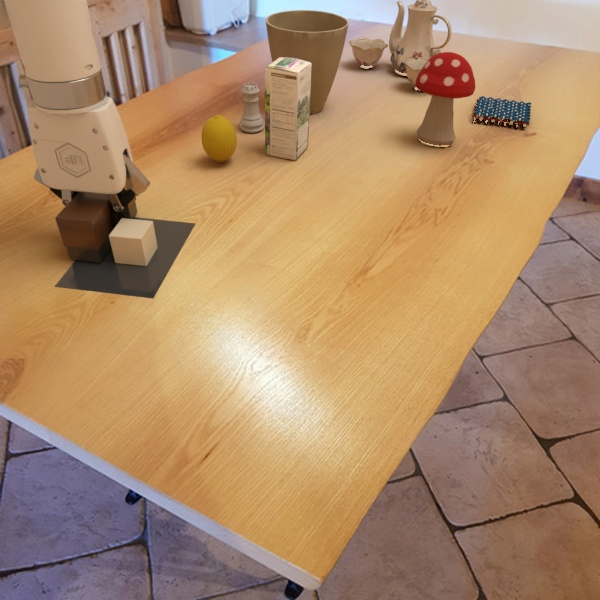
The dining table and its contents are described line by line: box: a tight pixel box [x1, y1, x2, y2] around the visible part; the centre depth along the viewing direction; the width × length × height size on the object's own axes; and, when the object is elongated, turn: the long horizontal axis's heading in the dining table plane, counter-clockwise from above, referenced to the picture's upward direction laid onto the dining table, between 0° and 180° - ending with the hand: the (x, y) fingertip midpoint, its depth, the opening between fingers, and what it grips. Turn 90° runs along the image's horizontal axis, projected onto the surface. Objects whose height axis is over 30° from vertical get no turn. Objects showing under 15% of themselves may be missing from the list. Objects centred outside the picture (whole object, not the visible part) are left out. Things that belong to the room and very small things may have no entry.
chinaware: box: [348, 0, 453, 87], centre depth 119 cm, size 28×17×17 cm, turn 42°
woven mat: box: [471, 95, 532, 127], centre depth 106 cm, size 10×11×2 cm
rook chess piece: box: [239, 81, 265, 134], centre depth 98 cm, size 4×4×8 cm
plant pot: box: [265, 9, 350, 115], centre depth 103 cm, size 15×15×16 cm
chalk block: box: [109, 218, 158, 266], centre depth 67 cm, size 4×4×4 cm
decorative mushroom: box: [415, 51, 476, 146], centre depth 93 cm, size 10×9×15 cm
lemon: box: [201, 113, 238, 164], centre depth 87 cm, size 6×6×8 cm
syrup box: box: [264, 57, 312, 161], centre depth 89 cm, size 6×6×14 cm
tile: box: [54, 216, 196, 299], centre depth 69 cm, size 12×16×1 cm
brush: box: [54, 178, 138, 263], centre depth 69 cm, size 12×4×6 cm, turn 171°
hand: (104, 229), depth 71 cm, fingers closed on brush, 4 cm apart
